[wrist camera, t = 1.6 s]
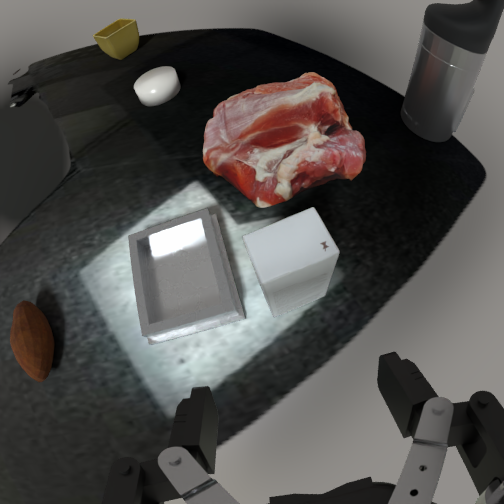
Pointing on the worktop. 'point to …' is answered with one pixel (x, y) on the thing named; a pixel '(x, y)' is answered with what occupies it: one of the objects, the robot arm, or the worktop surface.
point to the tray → (183, 278)
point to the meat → (283, 140)
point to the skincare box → (292, 260)
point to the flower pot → (119, 38)
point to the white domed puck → (157, 86)
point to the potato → (32, 340)
